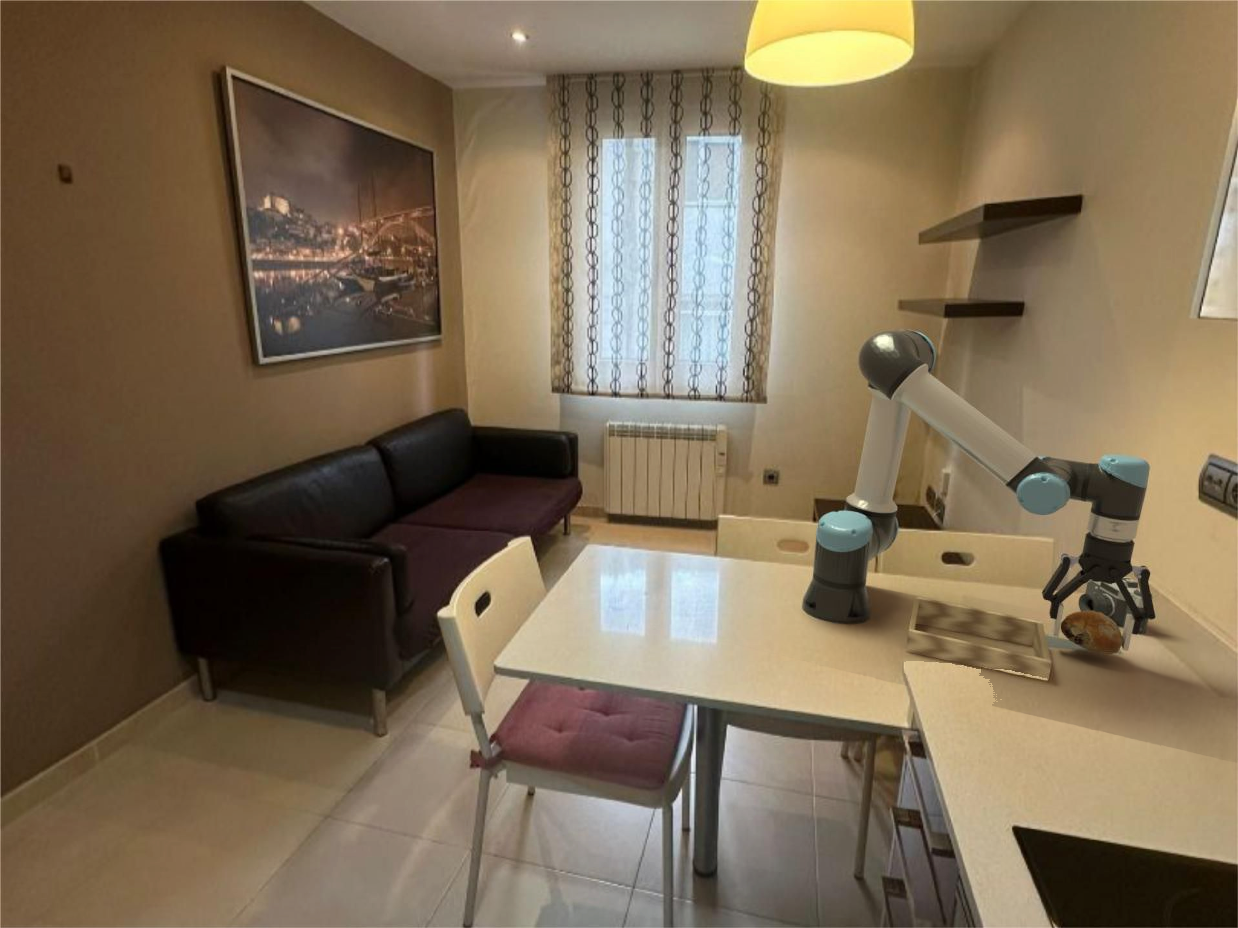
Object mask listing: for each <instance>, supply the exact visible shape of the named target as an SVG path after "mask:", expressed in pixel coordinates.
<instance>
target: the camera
mask: <svg viewBox="0 0 1238 928" xmlns="http://www.w3.org/2000/svg"><path fill="white" fill-rule="evenodd" d="M1122 580H1123V582H1124V584H1125V585H1126V587H1127V589H1128V591H1129V593H1130V595H1131V596H1132V598H1133V600H1134V602H1135V604H1136V606H1137V607H1138V609H1139V610H1144V607H1143V602H1142V598H1141V593H1140V588H1139V583H1138V580H1135V579H1132V577H1129V576H1125V577H1124V578H1122ZM1151 597H1152V600H1153V598H1154V597H1153V595H1152V593H1151ZM1078 607H1079V610H1080V611H1095V612H1101V613H1102V614H1104V615H1106V616H1107V617H1109V618H1110V619H1112V620H1113V621H1114V622H1115V623H1116V624H1117V625H1119V626H1121V627H1122V628H1124V625H1125V620H1126V616H1127V614H1131V615H1132V614H1133V613H1132V612H1131V610H1130V608H1129V606H1128V604H1127V602H1126V601H1125V599H1124V597H1123V595H1122V593H1121V591H1120V590H1119V588H1118V586H1117V584H1116V583H1112V584H1107V583H1104V582H1095V581H1092V580H1091V579H1090V580H1089V581H1088V582H1087V583H1086V588H1085V593H1083V594H1082V595H1080V596H1079V598H1078ZM1148 622H1149V619H1144V620H1143V621H1142V622H1141V625H1140V629H1139V633H1138V634H1145V633H1146V632H1147V627H1148Z"/></svg>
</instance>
